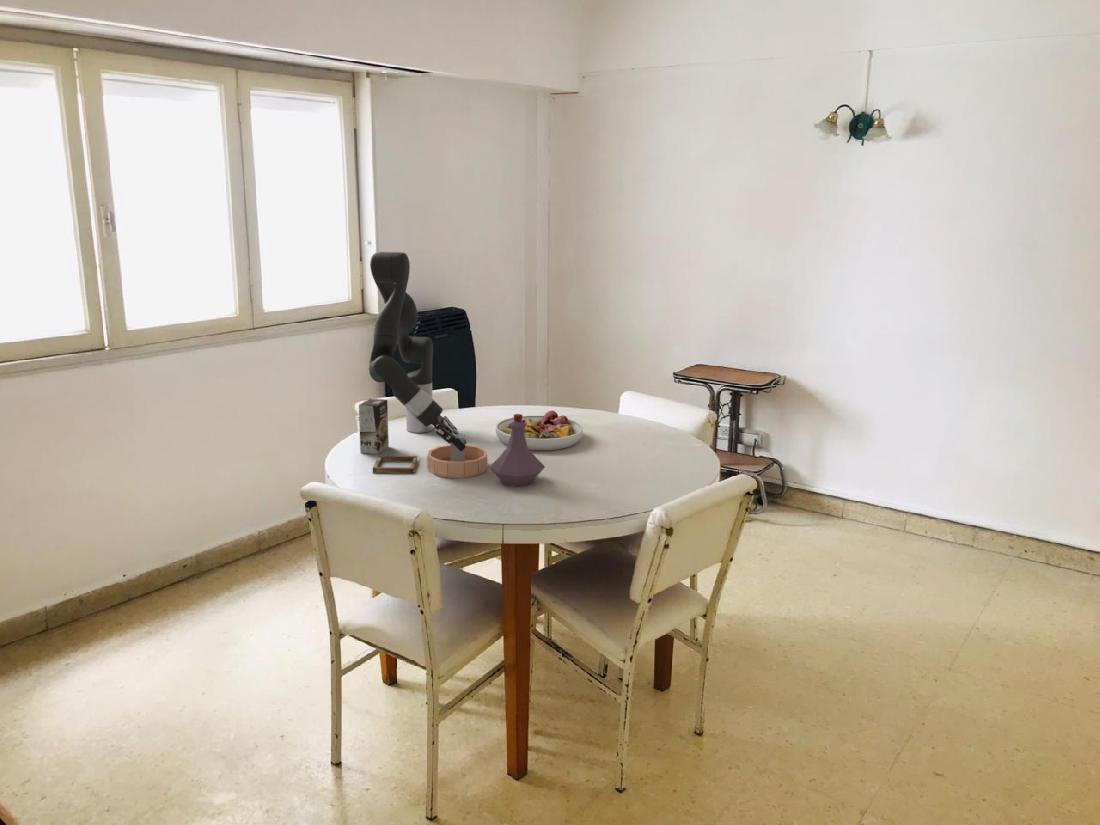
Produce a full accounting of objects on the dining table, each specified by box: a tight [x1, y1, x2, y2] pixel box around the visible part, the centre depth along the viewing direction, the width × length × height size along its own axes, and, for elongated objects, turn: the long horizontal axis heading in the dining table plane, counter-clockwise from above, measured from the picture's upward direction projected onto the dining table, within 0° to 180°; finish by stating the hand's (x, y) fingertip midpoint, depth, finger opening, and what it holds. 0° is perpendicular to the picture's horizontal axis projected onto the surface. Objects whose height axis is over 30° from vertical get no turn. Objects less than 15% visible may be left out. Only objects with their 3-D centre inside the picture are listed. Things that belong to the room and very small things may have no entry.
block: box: [449, 433, 466, 462], centre depth 243 cm, size 4×4×8 cm
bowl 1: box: [426, 444, 489, 479], centre depth 244 cm, size 18×18×5 cm
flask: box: [488, 413, 546, 487], centre depth 233 cm, size 16×16×20 cm
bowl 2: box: [495, 410, 584, 452], centre depth 275 cm, size 30×30×8 cm
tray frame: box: [372, 455, 419, 474], centre depth 245 cm, size 12×12×2 cm
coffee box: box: [358, 398, 390, 455], centre depth 259 cm, size 9×6×16 cm
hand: (464, 446), depth 243 cm, fingers closed on block, 4 cm apart
